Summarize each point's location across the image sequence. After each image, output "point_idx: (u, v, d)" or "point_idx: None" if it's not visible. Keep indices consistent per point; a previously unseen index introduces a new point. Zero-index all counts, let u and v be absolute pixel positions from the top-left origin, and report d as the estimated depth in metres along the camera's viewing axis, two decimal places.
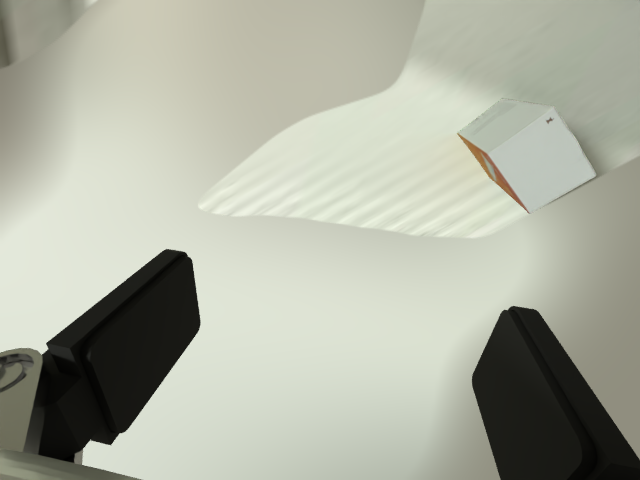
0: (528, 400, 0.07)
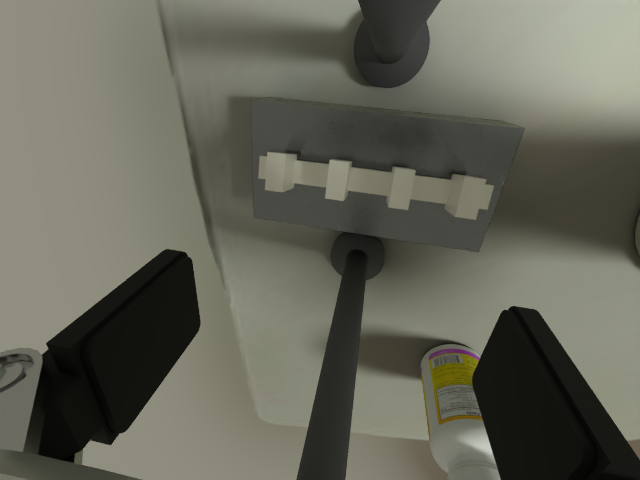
0: (528, 400, 0.07)
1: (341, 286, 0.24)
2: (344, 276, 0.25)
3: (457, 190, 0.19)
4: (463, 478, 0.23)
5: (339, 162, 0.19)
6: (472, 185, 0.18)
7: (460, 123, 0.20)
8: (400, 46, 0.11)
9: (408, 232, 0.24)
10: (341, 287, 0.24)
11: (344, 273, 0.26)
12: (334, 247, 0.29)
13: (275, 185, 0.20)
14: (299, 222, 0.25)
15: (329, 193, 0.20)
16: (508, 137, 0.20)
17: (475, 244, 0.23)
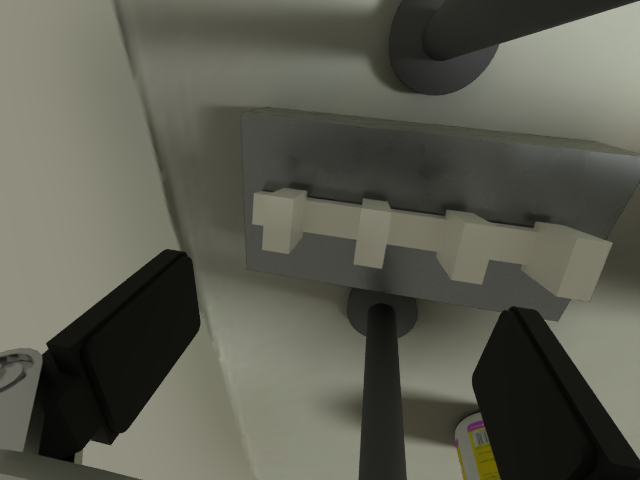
0: (528, 400, 0.07)
1: (368, 368, 0.18)
2: (370, 349, 0.19)
3: (556, 253, 0.12)
4: None
5: (377, 212, 0.12)
6: (588, 251, 0.12)
7: (553, 149, 0.13)
8: (610, 9, 0.04)
9: (460, 294, 0.17)
10: (368, 370, 0.17)
11: (369, 343, 0.19)
12: (352, 300, 0.22)
13: (277, 243, 0.13)
14: (308, 277, 0.19)
15: (360, 257, 0.13)
16: (625, 170, 0.13)
17: (554, 311, 0.17)
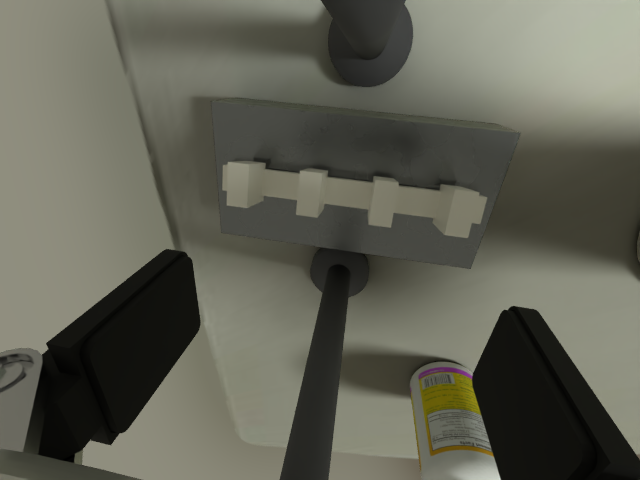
0: (528, 400, 0.07)
1: (320, 309, 0.22)
2: (324, 297, 0.23)
3: (446, 204, 0.17)
4: None
5: (311, 173, 0.16)
6: (463, 199, 0.16)
7: (448, 127, 0.17)
8: (374, 36, 0.08)
9: (393, 248, 0.21)
10: (320, 311, 0.21)
11: (324, 293, 0.23)
12: (314, 262, 0.26)
13: (238, 200, 0.17)
14: (272, 237, 0.23)
15: (300, 209, 0.17)
16: (502, 143, 0.17)
17: (467, 260, 0.21)
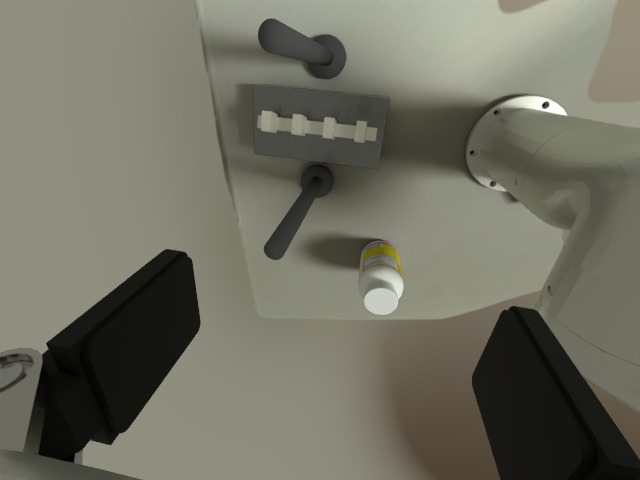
0: (528, 400, 0.07)
1: (303, 189, 0.44)
2: (306, 186, 0.45)
3: None
4: (369, 289, 0.42)
5: (297, 115, 0.38)
6: (360, 124, 0.38)
7: (359, 96, 0.39)
8: (307, 60, 0.30)
9: (340, 158, 0.43)
10: (303, 189, 0.43)
11: (306, 185, 0.45)
12: (302, 175, 0.48)
13: (266, 128, 0.39)
14: (280, 155, 0.45)
15: (293, 131, 0.39)
16: (383, 103, 0.39)
17: (375, 164, 0.43)
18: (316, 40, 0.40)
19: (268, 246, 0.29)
